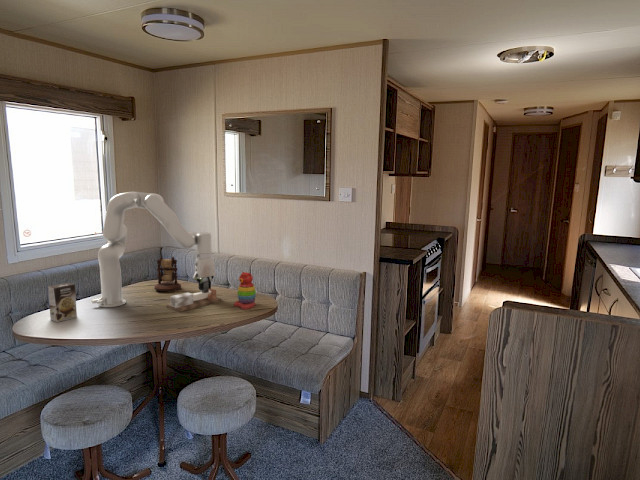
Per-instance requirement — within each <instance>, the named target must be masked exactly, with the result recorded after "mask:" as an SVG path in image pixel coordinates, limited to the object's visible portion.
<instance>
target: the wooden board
mask: <svg viewBox="0 0 640 480" xmlns="http://www.w3.org/2000/svg"><path fill="white" fill-rule="evenodd" d="M209 291H211V293H210V294H208V297H207V298H203V299H199V300H195V301H193V293H191V292H188V291H187V292H184V293H180V294H175V295H170V297H169V298H170V303H167V304H165V307H166V308H169V309H170V310H173V311H176V312H178V313H181V312H183V311H184V312H185V311H187V310H192V309H196V308H199V307H204V306H207V305H210V304H215V303H218V302H221V301H222V298H219V297H217V289H214V288H211V289H209Z"/></svg>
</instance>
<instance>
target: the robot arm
mask: <svg viewBox="0 0 640 480" xmlns="http://www.w3.org/2000/svg"><path fill="white" fill-rule="evenodd" d="M131 209H146V210H147V211H148V212H149V213H150V214H151V215H152V216H153V217H154V218H155V219H156V220H157V221H158V222H159V223H160V224H161V225H162V226H163V228H164V229H165V230H166V231H167V233H168V234H169V235H170V236H171V237H172V238H173V240H174V241H175V242H177V243H178V244H179V245H180V246H181V247H182V248H183V249H191V248H193V247H194V246H196V254H195V255H194V257H195V261H194V262H195V264H194V274H193V276H192V280H195V281H196V282H197V283H198V290H199V291H201V290H202V291H203V283H202V281H203V280H204V279H205V278H206V280H208V281H209V289H212V282H213V279H214V277H215V276H216V275H217V273H216V267H215V262H214V261H215V260H214V257H212V256H213V255H212V235H211V233H210V232H205V231H203V232H195V231H188V230H187V229H186V228H185V227H184V226H183V225H182V224H181V223H180V220H179V218H178V216H177V214H176V213H175V212H174V211H173V210H172V209H171V207H169V206H168V205H167V204H166V203H165V200H164V198H163V196H161V195H160V194H158V193H153V192H152V193H150V192H142V191H127V192H122V193H118V194H116V195H114V196H113V197H111V198H110V200H109V201H108V203H107V206H106V213H105V219H104V223H103V224H104V225H103V230H102V236H103V238H104V240H105V241H106V244H104V245H102V246H101V247H100V248H99V250H98V252H97V259H98V264H99V275H100V276H99V277H100V288H101V289H100V291H101V293H100V294H101V295H100V296H99V297H98V298H96V299H92V300H91V303H92V304H97V305H98V306H99V307H101V308H114V307H115V308H116V307H120V306H124V305H125V304H126V302H127V301H126V299H124V298H123V287H122V286H123V285H122V271H121V263H120V259H121V257H122V256H123V255H124V254H125V250H126V244H127V238H128V227H127V226H126V224H124V221H125V213H126V211H127V210H131Z"/></svg>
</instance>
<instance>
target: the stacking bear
mask: <svg viewBox="0 0 640 480" xmlns="http://www.w3.org/2000/svg"><path fill="white" fill-rule="evenodd" d="M253 279H254V278H253V275H252V273H250V272H245V271H242V273H241V274H240V276H239V277H238V280H239V286H238V289H237V298H238V300H236V301H234V304H233V306H234V307H238V308H241V309H242V310H250V309H253V308H254V307H255V306H256V302H255V301H256V296H257V294H256V293H257V292H256V287H255V284H254V283H253Z"/></svg>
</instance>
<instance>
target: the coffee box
mask: <svg viewBox="0 0 640 480" xmlns="http://www.w3.org/2000/svg"><path fill="white" fill-rule="evenodd" d="M48 298H49V299H48V301H49V315H50V316H49V317H50V320H51V321H53V322H56V323H59V322H60V323H61V322H64V321H67V320H71V319H75V318H77V317H78V314H77V313H78V312H77V298H76V284H75V283H72V282H66V283H65V282H64V283H60V284H53V285H48Z"/></svg>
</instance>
